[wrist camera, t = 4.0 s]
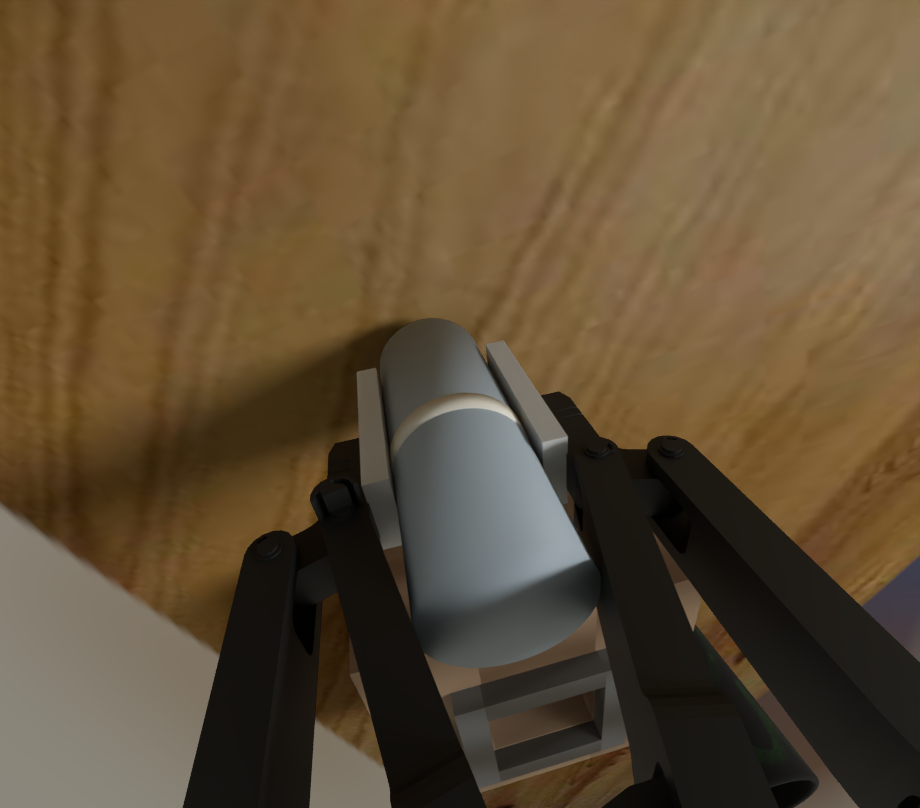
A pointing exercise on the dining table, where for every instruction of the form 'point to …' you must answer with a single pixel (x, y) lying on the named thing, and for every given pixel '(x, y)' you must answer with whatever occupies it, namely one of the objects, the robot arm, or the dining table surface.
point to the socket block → (534, 696)
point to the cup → (762, 734)
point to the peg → (476, 509)
